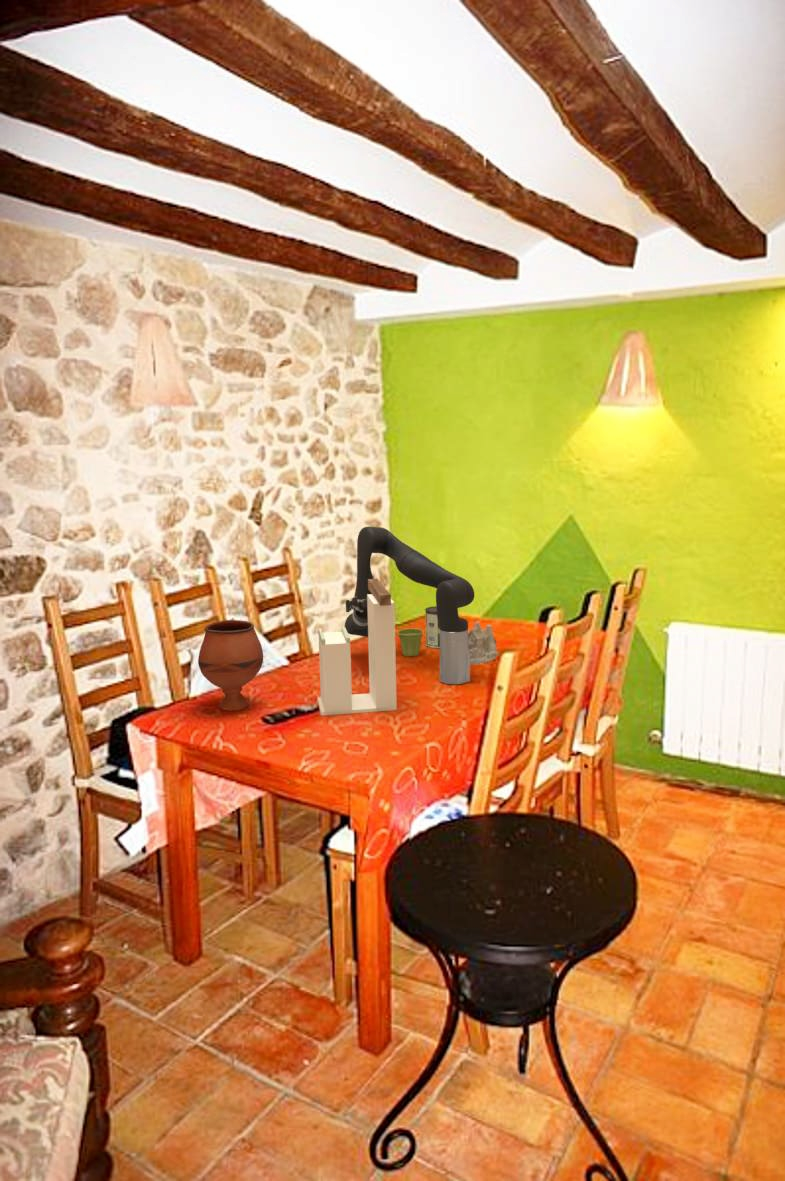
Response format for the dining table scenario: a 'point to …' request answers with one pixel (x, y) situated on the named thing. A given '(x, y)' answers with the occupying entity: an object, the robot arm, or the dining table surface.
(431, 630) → the coffee can
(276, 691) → the dining table surface
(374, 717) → the dining table surface
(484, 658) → the ceramic cottage
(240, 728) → the dining table surface
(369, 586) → the walnut baton
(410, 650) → the plant pot
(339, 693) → the stand
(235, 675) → the goblet
